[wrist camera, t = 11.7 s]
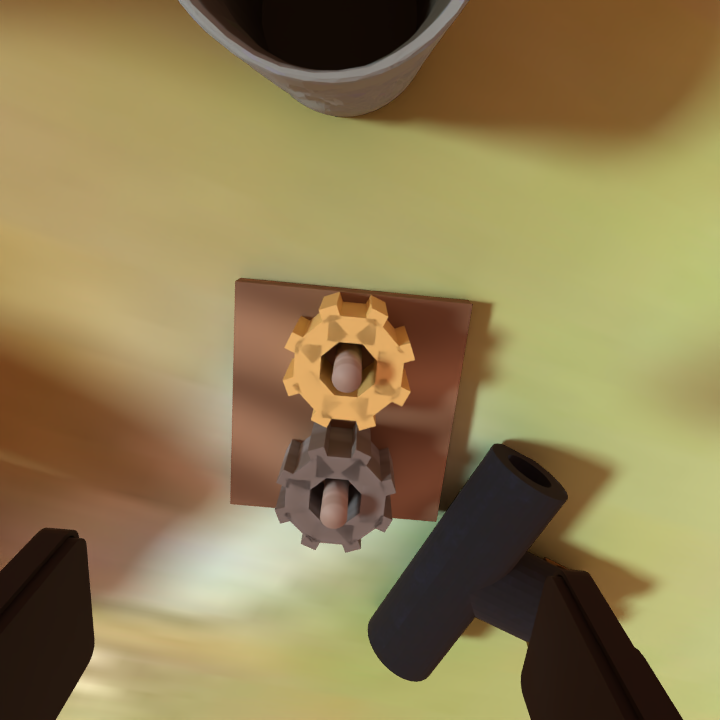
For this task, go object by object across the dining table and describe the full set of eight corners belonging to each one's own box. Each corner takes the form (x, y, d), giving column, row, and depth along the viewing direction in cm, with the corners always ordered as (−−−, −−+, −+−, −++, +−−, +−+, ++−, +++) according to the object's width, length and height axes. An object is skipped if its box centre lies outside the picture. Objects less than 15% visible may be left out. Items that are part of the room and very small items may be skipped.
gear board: (240, 278, 28) (208, 298, 22) (468, 300, 29) (495, 326, 23) (235, 493, 33) (206, 558, 27) (433, 510, 33) (449, 578, 27)
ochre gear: (296, 287, 27) (286, 300, 24) (413, 298, 27) (421, 312, 24) (289, 397, 29) (280, 423, 26) (400, 407, 29) (405, 434, 26)
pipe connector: (677, 565, 28) (524, 735, 32) (630, 510, 33) (503, 663, 37) (505, 475, 27) (367, 664, 31) (483, 432, 32) (368, 599, 36)
